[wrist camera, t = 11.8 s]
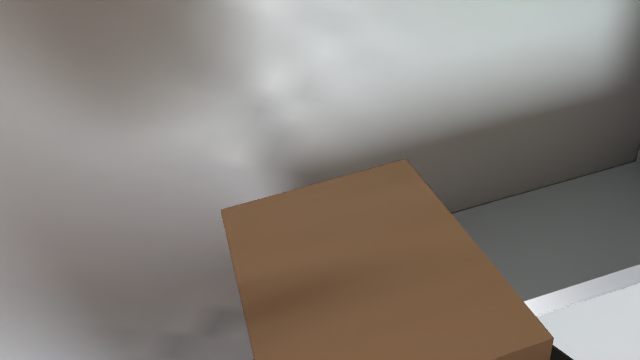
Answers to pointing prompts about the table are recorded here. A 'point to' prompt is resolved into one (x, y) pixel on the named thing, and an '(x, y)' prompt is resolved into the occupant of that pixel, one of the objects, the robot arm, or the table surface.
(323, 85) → the table surface
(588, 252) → the grey u-shaped wall
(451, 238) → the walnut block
